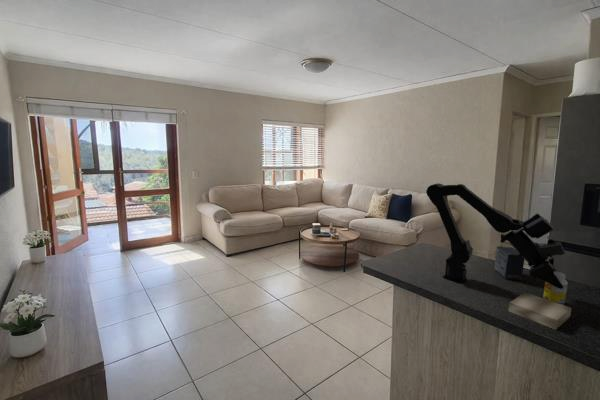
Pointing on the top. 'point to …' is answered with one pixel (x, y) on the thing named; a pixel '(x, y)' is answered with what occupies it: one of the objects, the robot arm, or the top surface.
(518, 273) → the small box
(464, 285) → the top surface
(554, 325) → the birch base block
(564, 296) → the supplement bottle
